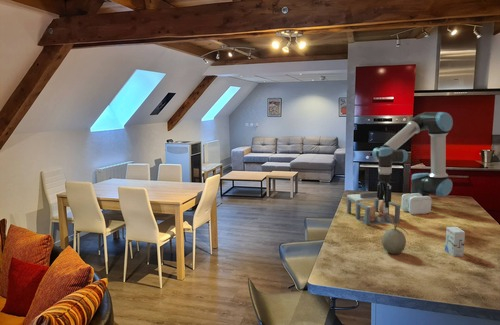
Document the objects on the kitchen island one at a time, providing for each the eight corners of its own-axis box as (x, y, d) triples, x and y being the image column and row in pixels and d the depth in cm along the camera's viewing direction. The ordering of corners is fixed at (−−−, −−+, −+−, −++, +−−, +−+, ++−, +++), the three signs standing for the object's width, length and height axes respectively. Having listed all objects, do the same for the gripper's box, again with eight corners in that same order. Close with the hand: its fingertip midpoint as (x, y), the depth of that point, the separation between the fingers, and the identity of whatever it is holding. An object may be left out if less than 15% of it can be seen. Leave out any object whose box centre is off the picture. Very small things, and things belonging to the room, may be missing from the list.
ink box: (444, 249, 187) (445, 226, 185) (454, 249, 187) (456, 226, 185) (453, 256, 178) (454, 232, 177) (464, 256, 178) (465, 231, 176)
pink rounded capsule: (384, 213, 237) (385, 199, 236) (388, 215, 233) (389, 201, 231) (377, 214, 236) (378, 199, 235) (381, 216, 232) (382, 201, 231)
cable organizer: (421, 209, 259) (422, 192, 258) (431, 213, 249) (432, 196, 247) (400, 211, 256) (401, 194, 255) (410, 215, 246) (411, 197, 245)
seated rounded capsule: (372, 219, 236) (373, 205, 235) (376, 221, 232) (376, 207, 230) (365, 220, 235) (366, 205, 234) (369, 222, 231) (369, 207, 230)
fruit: (405, 259, 176) (406, 227, 174) (379, 254, 182) (380, 223, 180) (409, 251, 185) (410, 221, 183) (384, 247, 191) (385, 218, 189)
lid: (376, 194, 255) (376, 188, 254) (387, 199, 241) (388, 193, 240) (347, 196, 251) (347, 190, 250) (356, 201, 237) (356, 194, 237)
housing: (376, 211, 256) (377, 195, 254) (399, 223, 229) (400, 205, 228) (346, 213, 252) (347, 197, 250) (366, 226, 226) (366, 207, 224)
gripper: (371, 171, 239) (370, 208, 242) (386, 176, 222) (385, 215, 225) (383, 170, 240) (381, 207, 243) (398, 175, 223) (397, 215, 226)
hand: (383, 211), depth 234 cm, fingers closed on pink rounded capsule, 5 cm apart
